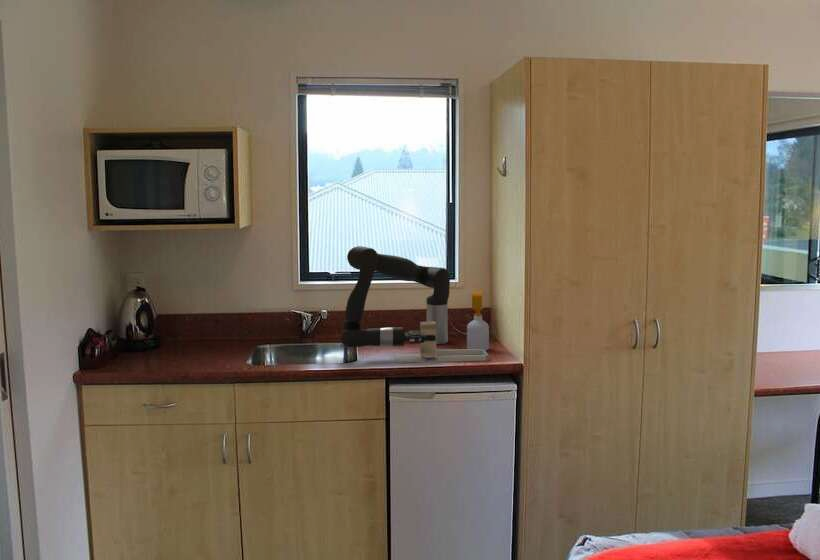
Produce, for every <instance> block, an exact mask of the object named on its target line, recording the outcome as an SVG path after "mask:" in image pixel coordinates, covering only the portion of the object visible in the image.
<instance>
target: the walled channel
mask: <svg viewBox="0 0 820 560" xmlns="http://www.w3.org/2000/svg"><path fill="white" fill-rule="evenodd" d="M436 356H438V358H437V359H438V362H439V361H440V362H476V361H478V362H480V361H481V362H484V361H489V360H490V359H489V358H490V356H489V354H488V352H487V350H486V351H485V349H467V348H463V349H436Z"/></svg>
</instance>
